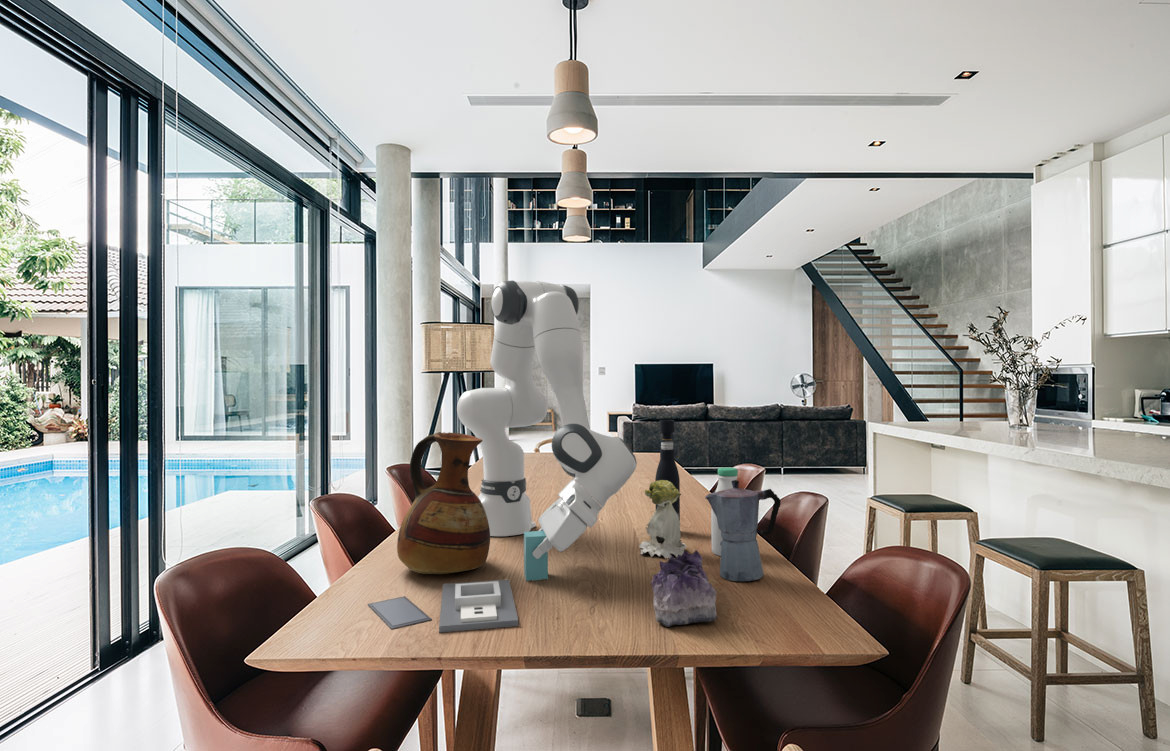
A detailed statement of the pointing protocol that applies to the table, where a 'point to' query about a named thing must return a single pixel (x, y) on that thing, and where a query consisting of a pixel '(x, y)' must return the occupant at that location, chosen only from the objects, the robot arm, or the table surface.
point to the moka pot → (741, 530)
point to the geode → (683, 591)
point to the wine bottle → (668, 461)
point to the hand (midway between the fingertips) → (532, 552)
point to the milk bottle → (724, 483)
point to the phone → (399, 612)
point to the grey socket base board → (477, 606)
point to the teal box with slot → (533, 566)
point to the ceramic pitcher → (444, 513)
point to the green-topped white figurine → (663, 522)
